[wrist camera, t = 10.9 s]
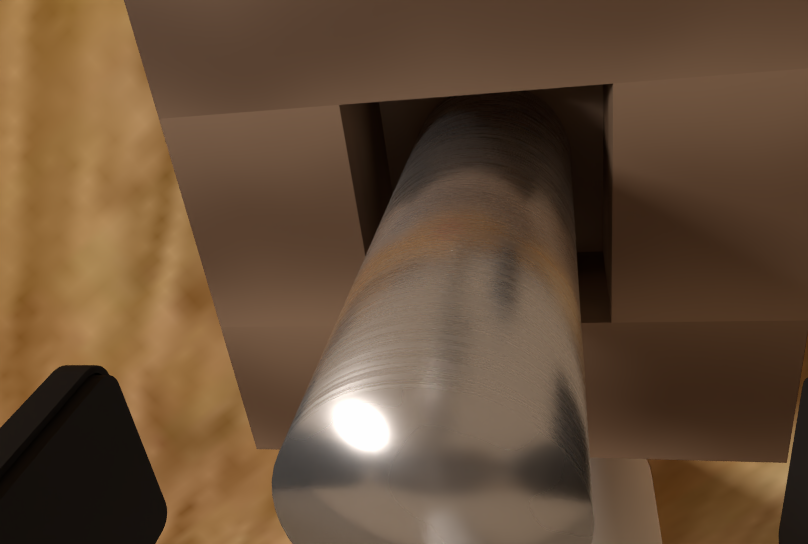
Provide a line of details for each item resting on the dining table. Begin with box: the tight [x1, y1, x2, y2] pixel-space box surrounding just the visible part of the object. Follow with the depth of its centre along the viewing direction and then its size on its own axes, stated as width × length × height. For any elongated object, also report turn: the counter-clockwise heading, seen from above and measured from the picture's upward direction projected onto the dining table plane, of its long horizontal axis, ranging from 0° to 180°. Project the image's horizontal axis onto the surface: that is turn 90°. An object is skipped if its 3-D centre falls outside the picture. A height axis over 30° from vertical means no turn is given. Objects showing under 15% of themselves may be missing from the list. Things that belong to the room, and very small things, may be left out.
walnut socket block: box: [124, 0, 808, 463], centre depth 19 cm, size 14×14×5 cm
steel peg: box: [272, 90, 594, 544], centre depth 14 cm, size 4×4×12 cm
